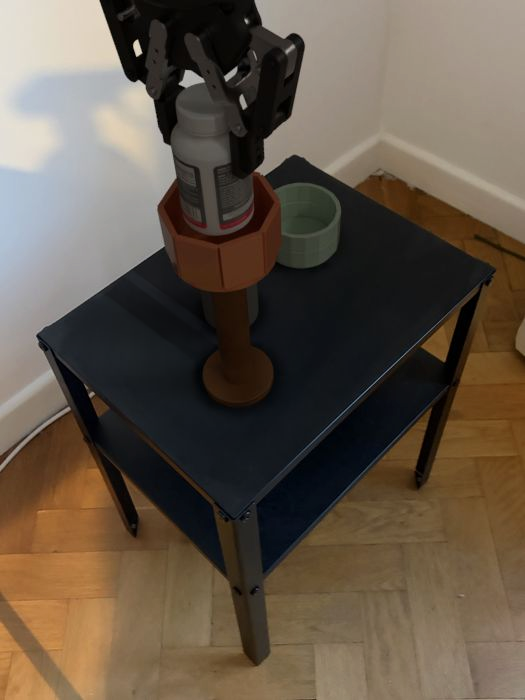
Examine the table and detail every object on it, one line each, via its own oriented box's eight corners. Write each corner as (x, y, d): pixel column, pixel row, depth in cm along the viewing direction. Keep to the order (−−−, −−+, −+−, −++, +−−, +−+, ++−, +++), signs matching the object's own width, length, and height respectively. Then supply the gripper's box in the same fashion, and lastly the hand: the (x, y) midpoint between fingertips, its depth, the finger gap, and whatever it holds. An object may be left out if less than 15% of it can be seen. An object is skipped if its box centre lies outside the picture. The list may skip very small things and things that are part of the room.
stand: (219, 418, 70) (198, 296, 55) (193, 364, 74) (168, 236, 59) (285, 391, 71) (282, 266, 57) (256, 340, 75) (247, 210, 61)
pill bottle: (253, 187, 56) (247, 73, 48) (255, 237, 53) (248, 123, 45) (183, 190, 56) (166, 76, 48) (181, 240, 53) (161, 127, 45)
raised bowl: (192, 307, 55) (184, 261, 51) (155, 233, 59) (145, 186, 55) (296, 270, 56) (296, 223, 52) (252, 201, 61) (249, 153, 57)
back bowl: (282, 279, 80) (281, 247, 76) (251, 229, 85) (248, 196, 81) (352, 254, 82) (355, 222, 78) (317, 206, 86) (318, 173, 82)
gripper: (27, -121, 37) (98, 147, 51) (251, -50, 32) (264, 229, 46) (126, -170, 41) (167, 94, 55) (343, -113, 36) (329, 163, 49)
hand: (211, 154), depth 50 cm, fingers closed on pill bottle, 5 cm apart
